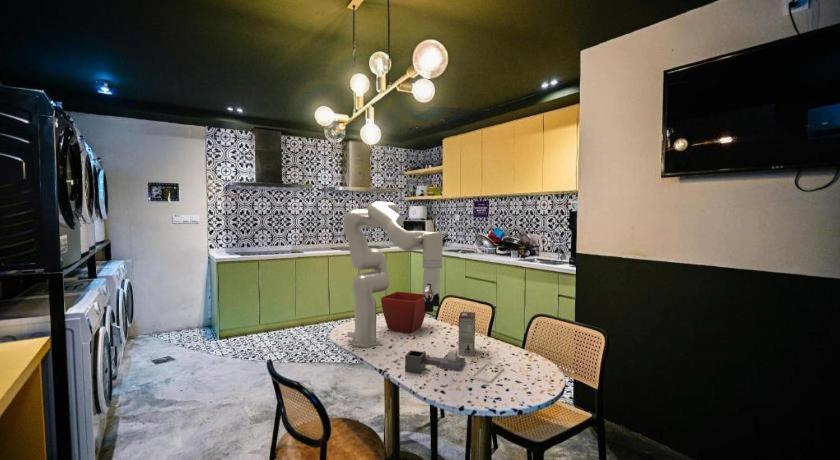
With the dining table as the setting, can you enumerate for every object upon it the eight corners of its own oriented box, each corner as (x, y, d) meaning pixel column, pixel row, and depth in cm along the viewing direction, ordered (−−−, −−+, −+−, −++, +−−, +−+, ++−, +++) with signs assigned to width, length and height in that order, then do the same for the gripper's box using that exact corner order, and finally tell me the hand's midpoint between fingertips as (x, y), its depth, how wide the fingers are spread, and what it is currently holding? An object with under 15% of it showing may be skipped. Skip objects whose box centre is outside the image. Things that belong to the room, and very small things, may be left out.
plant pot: (430, 326, 203) (430, 294, 203) (414, 336, 186) (414, 301, 185) (397, 322, 211) (397, 291, 211) (379, 331, 194) (379, 297, 193)
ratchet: (405, 362, 153) (405, 348, 153) (412, 356, 160) (412, 342, 160) (460, 370, 146) (460, 355, 146) (464, 363, 153) (465, 349, 153)
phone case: (490, 384, 135) (504, 370, 148) (490, 380, 135) (504, 366, 148) (470, 379, 139) (485, 366, 152) (470, 375, 139) (485, 362, 152)
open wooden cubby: (405, 371, 144) (405, 355, 144) (410, 365, 150) (410, 350, 150) (420, 373, 142) (420, 357, 142) (425, 367, 148) (425, 352, 148)
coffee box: (460, 347, 171) (460, 311, 171) (474, 348, 170) (475, 312, 170) (457, 354, 162) (458, 316, 162) (473, 356, 161) (474, 317, 161)
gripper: (428, 261, 158) (428, 303, 159) (416, 266, 142) (416, 313, 142) (447, 262, 156) (446, 304, 157) (436, 267, 140) (436, 315, 140)
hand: (432, 308), depth 150 cm, fingers open, 9 cm apart
